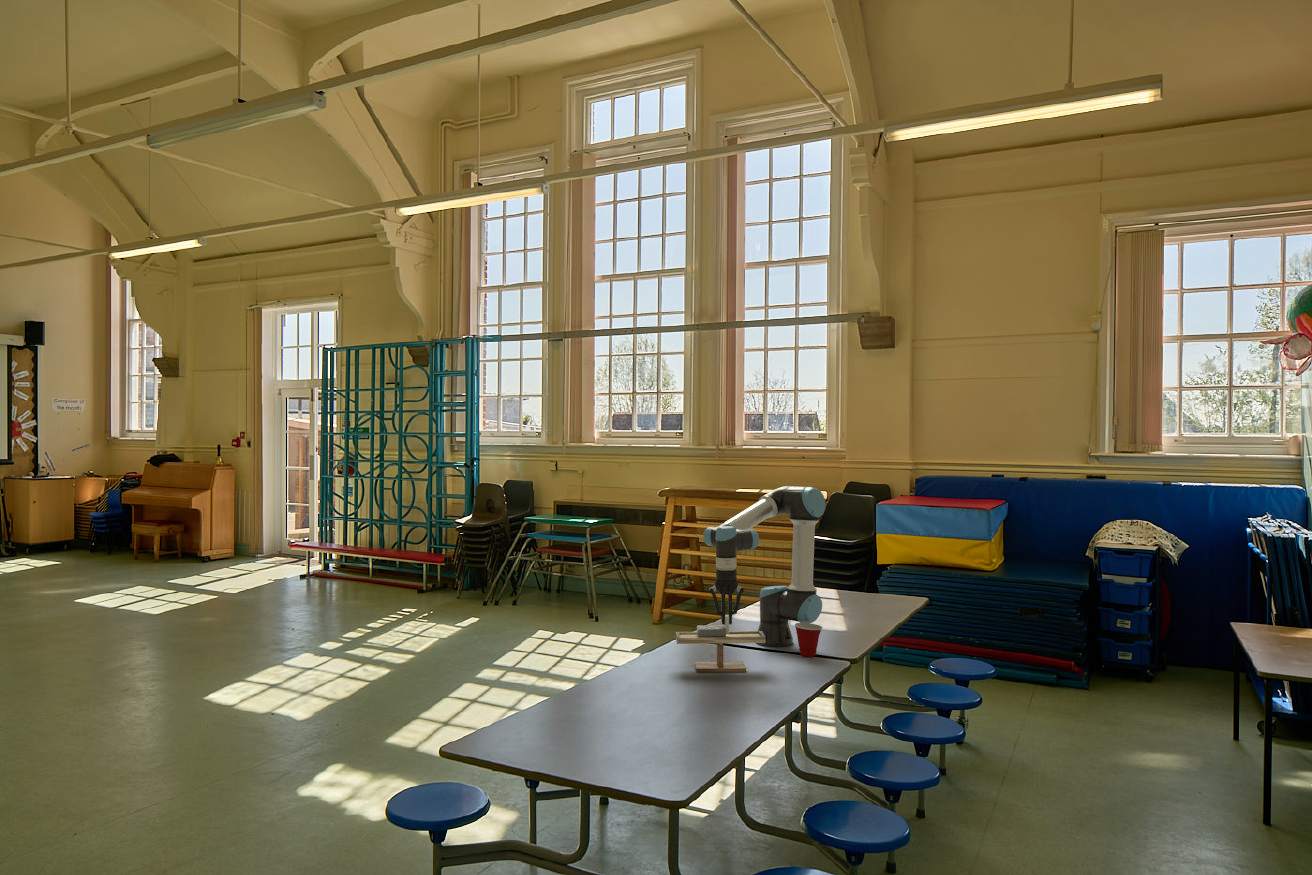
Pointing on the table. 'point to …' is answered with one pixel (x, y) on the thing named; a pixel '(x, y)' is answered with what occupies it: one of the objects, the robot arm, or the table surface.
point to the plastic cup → (808, 638)
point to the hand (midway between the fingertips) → (726, 633)
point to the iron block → (711, 631)
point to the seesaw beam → (721, 638)
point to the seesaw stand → (720, 664)
